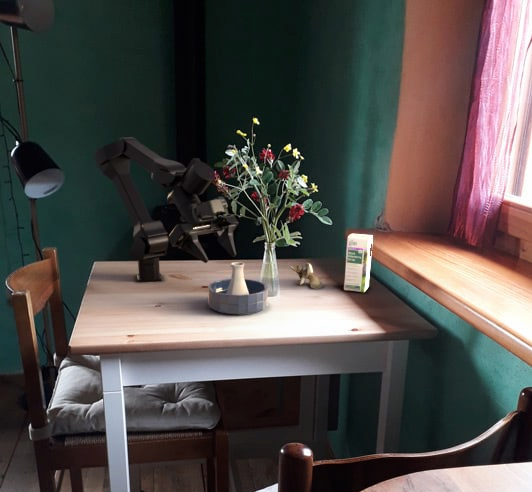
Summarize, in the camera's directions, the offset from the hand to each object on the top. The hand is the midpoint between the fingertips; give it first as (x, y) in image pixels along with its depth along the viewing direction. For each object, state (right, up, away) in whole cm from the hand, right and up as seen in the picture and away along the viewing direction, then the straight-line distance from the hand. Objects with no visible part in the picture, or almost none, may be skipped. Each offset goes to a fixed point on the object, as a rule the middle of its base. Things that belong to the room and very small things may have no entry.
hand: (221, 258), depth 149 cm
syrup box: (+35, -6, +16) cm, 39 cm away
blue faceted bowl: (+4, -12, 0) cm, 12 cm away
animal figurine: (+22, -5, +19) cm, 30 cm away
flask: (+4, -11, 0) cm, 12 cm away
